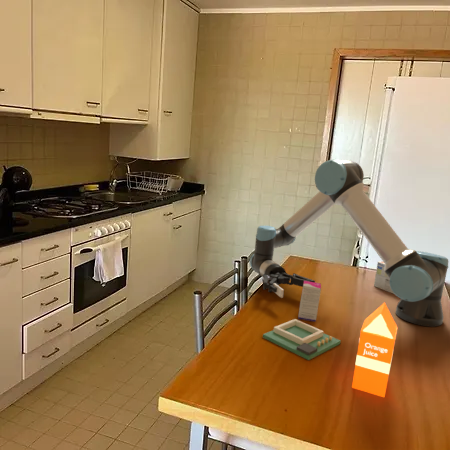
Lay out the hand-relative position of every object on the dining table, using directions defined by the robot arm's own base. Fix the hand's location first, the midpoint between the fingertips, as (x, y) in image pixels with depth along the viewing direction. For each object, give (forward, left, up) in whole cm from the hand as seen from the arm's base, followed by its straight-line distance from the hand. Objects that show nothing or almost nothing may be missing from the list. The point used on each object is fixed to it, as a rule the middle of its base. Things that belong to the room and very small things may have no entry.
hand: (300, 292), depth 149 cm
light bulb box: (-8, -52, -7) cm, 53 cm away
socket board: (-14, +18, -6) cm, 24 cm away
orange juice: (-38, +23, -7) cm, 45 cm away
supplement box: (-5, +2, -7) cm, 9 cm away
